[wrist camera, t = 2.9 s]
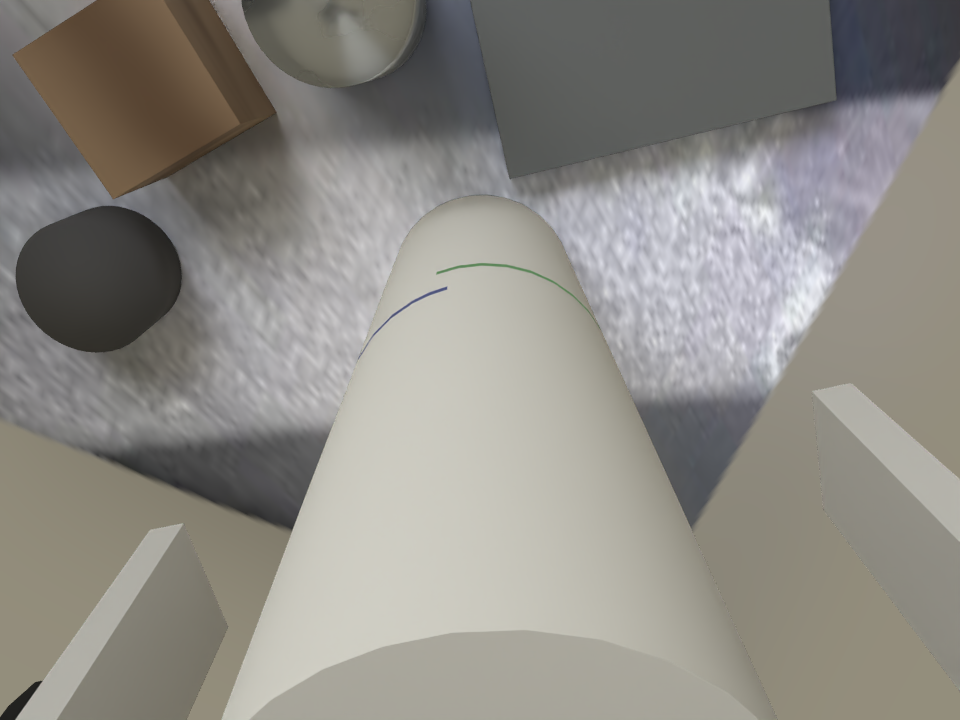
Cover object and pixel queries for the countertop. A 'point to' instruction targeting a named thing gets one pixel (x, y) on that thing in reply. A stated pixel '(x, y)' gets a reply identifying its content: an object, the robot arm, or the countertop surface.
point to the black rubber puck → (98, 278)
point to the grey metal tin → (336, 37)
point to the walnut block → (144, 86)
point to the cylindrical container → (491, 516)
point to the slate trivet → (644, 71)
